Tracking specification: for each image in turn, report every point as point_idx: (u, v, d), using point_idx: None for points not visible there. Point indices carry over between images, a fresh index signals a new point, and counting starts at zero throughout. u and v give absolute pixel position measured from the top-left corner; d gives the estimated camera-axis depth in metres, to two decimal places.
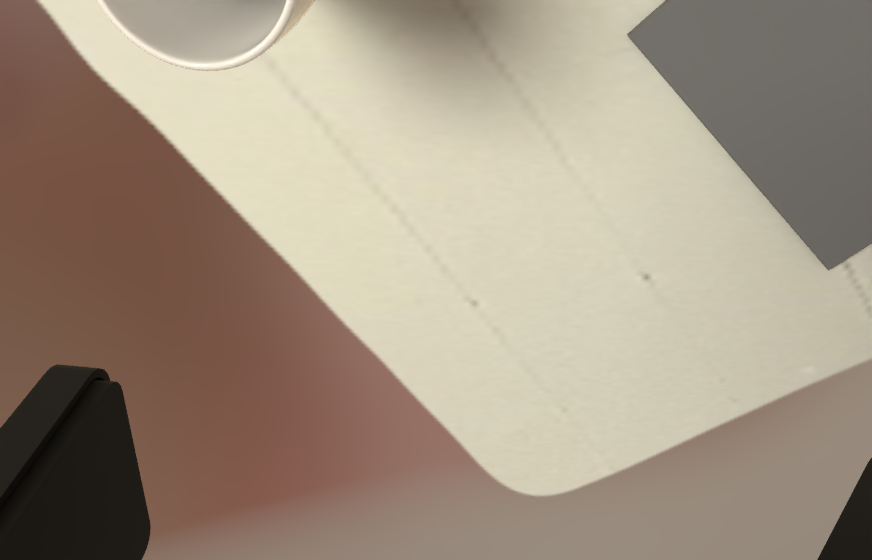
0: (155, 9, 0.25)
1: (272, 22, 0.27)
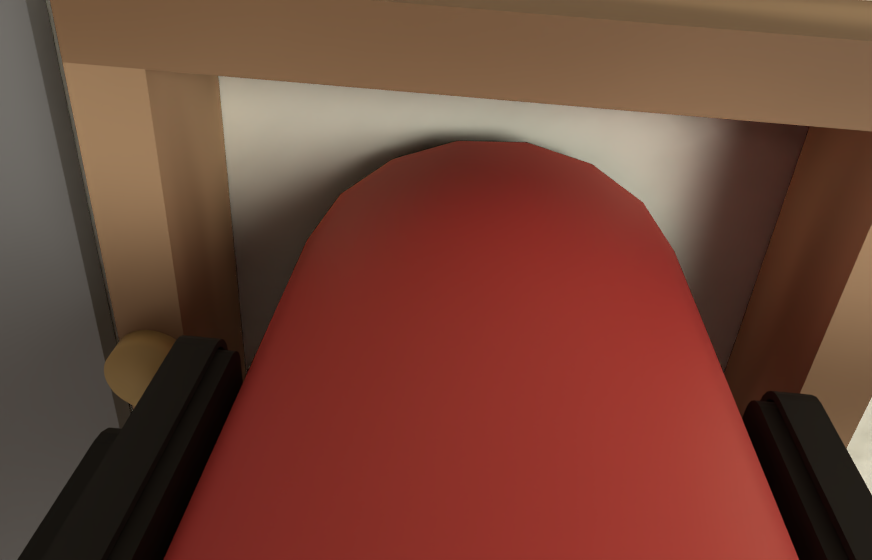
0: None
1: None
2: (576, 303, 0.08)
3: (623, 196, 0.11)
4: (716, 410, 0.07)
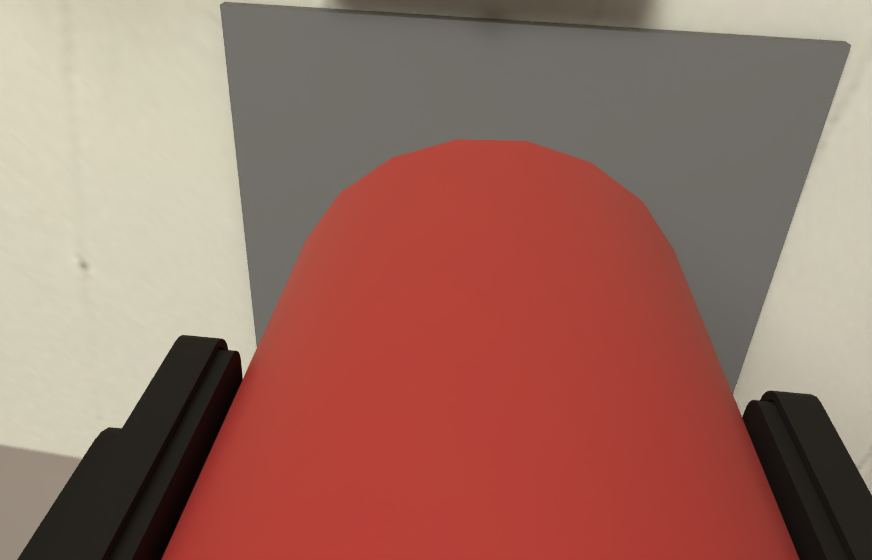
0: None
1: None
2: (576, 301, 0.08)
3: (623, 195, 0.11)
4: (716, 408, 0.07)
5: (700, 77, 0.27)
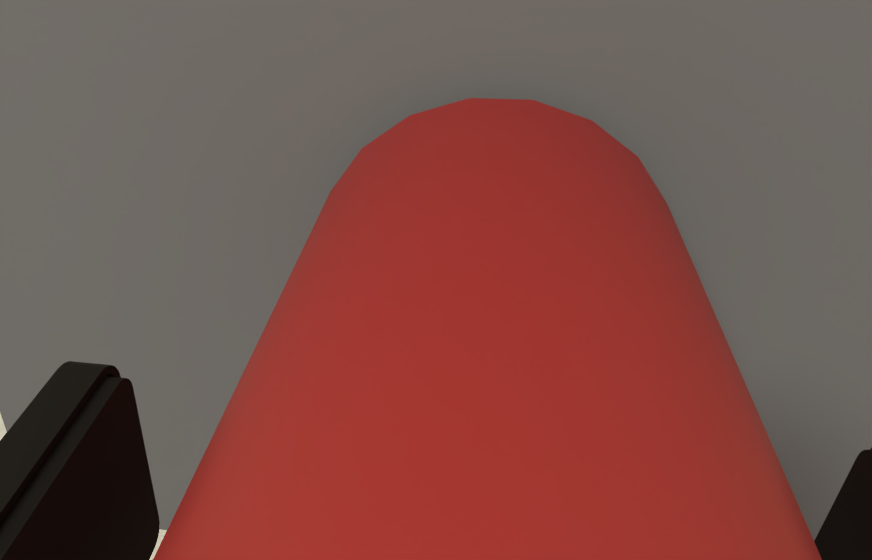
0: None
1: None
2: (576, 220, 0.09)
3: (620, 149, 0.12)
4: (698, 311, 0.08)
5: None
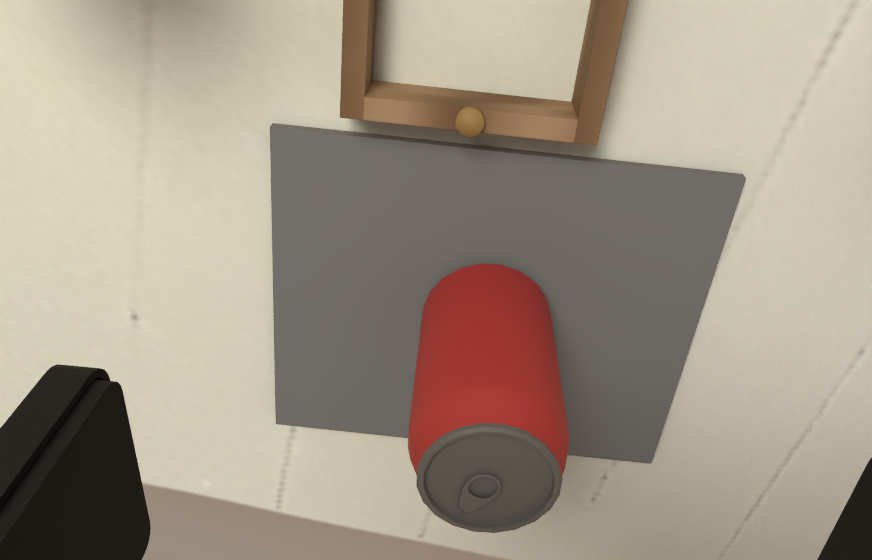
0: None
1: None
2: (511, 312, 0.33)
3: (529, 282, 0.36)
4: (542, 337, 0.33)
5: (635, 195, 0.35)
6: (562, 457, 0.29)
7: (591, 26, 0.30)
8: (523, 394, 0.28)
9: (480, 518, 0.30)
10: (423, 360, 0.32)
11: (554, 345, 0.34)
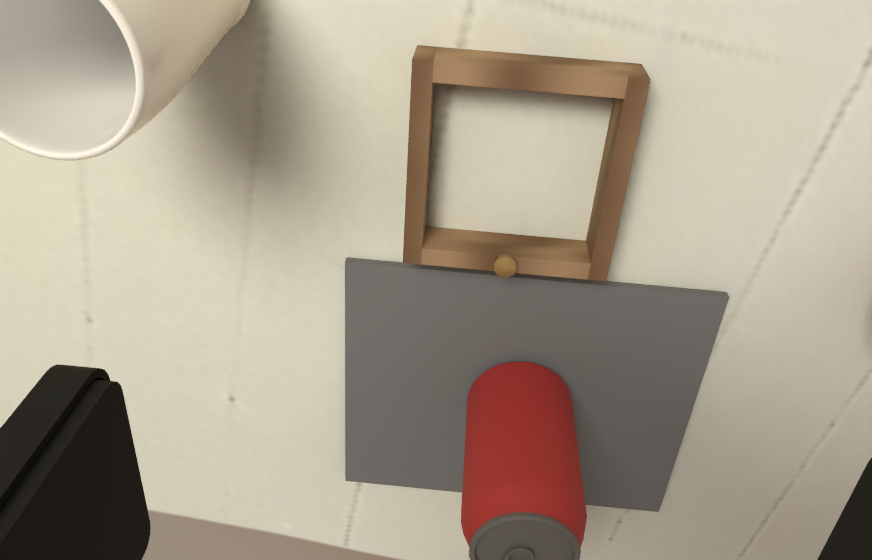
0: None
1: (82, 95, 0.28)
2: (540, 410, 0.42)
3: (554, 376, 0.45)
4: (564, 430, 0.41)
5: (639, 310, 0.43)
6: (580, 534, 0.38)
7: (600, 193, 0.39)
8: (550, 487, 0.37)
9: None
10: (471, 450, 0.41)
11: (574, 432, 0.43)
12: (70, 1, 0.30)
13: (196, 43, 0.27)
